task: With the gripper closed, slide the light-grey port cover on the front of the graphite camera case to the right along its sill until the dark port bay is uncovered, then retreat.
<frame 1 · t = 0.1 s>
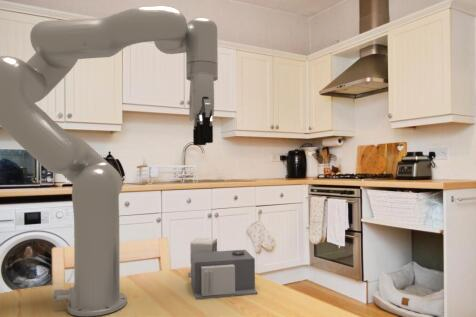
hand: (202, 144, 89), 37 cm above the table, tool pointing down, fingers open, 9 cm apart
door: (218, 280, 90), point 4 cm above the table, slide at 0.0 cm
camera case: (221, 286, 96), on the table
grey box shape: (202, 275, 107), on the table
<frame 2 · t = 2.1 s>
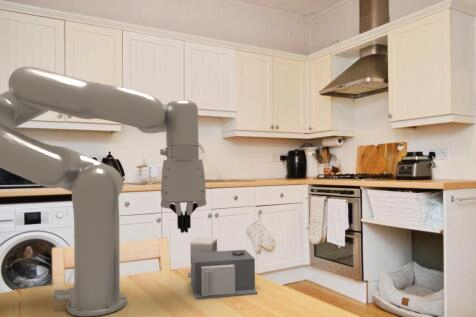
hand: (184, 231, 88), 16 cm above the table, tool pointing down, fingers closed
nothing on the table moved.
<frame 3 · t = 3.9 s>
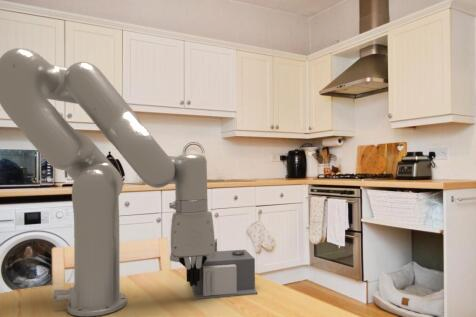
hand: (193, 284, 88), 3 cm above the table, tool pointing down, fingers closed
door: (219, 280, 90), point 4 cm above the table, slide at 0.4 cm, touching gripper
everything else where it was.
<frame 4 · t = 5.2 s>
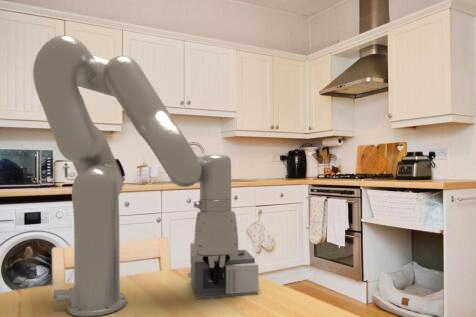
hand: (216, 282, 89), 3 cm above the table, tool pointing down, fingers closed
door: (242, 278, 91), point 4 cm above the table, slide at 5.9 cm, touching gripper
everything else where it was.
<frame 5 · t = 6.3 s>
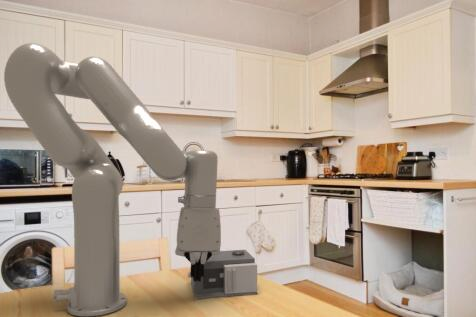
hand: (196, 279, 88), 4 cm above the table, tool pointing down, fingers closed
door: (240, 278, 91), point 4 cm above the table, slide at 5.5 cm
everything else where it was.
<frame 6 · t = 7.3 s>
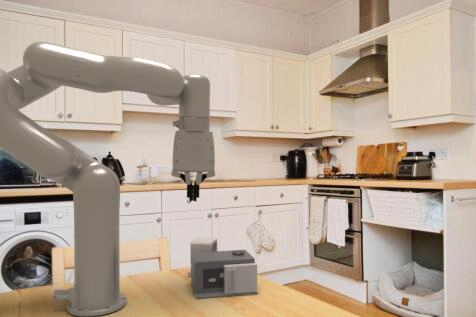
hand: (192, 200, 92), 23 cm above the table, tool pointing down, fingers closed
nothing on the table moved.
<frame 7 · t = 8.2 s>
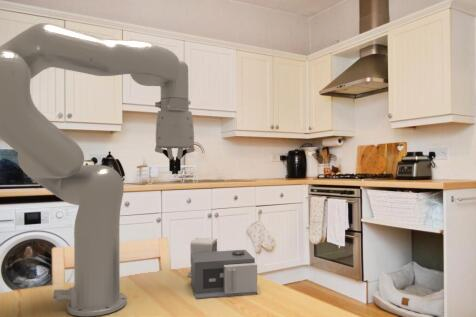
hand: (174, 173, 102), 29 cm above the table, tool pointing down, fingers closed
nothing on the table moved.
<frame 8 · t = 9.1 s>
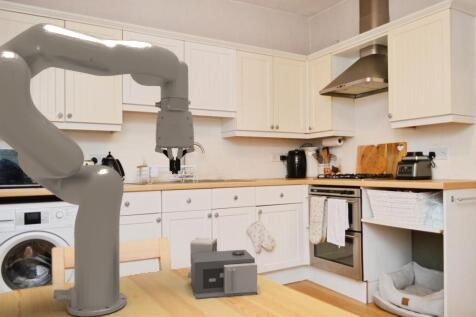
hand: (174, 173, 102), 29 cm above the table, tool pointing down, fingers closed
nothing on the table moved.
at the end: door slide at 5.5 cm; the gripper is holding nothing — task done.
